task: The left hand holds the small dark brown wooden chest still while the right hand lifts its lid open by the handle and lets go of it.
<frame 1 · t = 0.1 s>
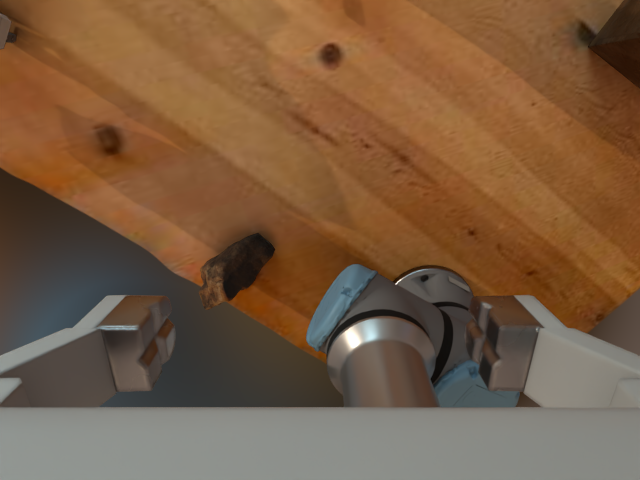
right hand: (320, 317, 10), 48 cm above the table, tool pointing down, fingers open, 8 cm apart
decorative rock: (240, 256, 62), on the table
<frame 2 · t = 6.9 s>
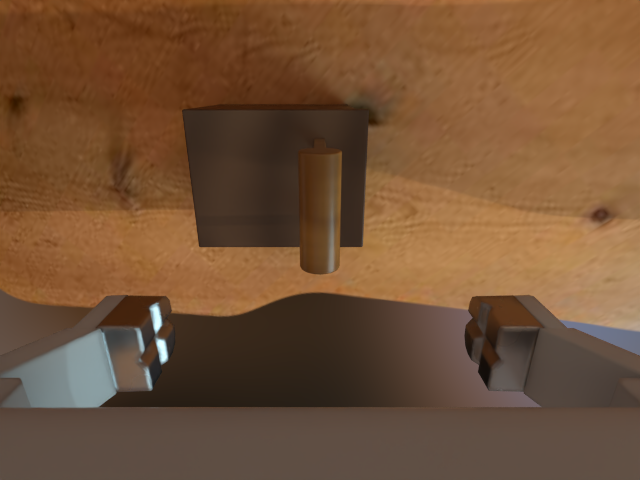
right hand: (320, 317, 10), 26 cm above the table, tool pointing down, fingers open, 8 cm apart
chest: (285, 158, 35), on the table
lid: (272, 195, 23), point 13 cm above the table, hinge at 0.0°
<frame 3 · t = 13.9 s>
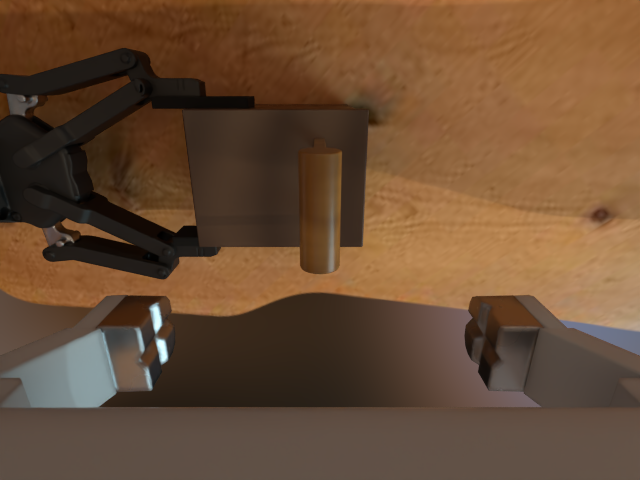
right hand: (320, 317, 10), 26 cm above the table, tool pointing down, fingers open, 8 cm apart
left hand: (255, 173, 29), fingers closed on chest, 9 cm apart
chest: (285, 158, 35), on the table, touching left hand
lid: (272, 195, 23), point 13 cm above the table, hinge at 0.0°
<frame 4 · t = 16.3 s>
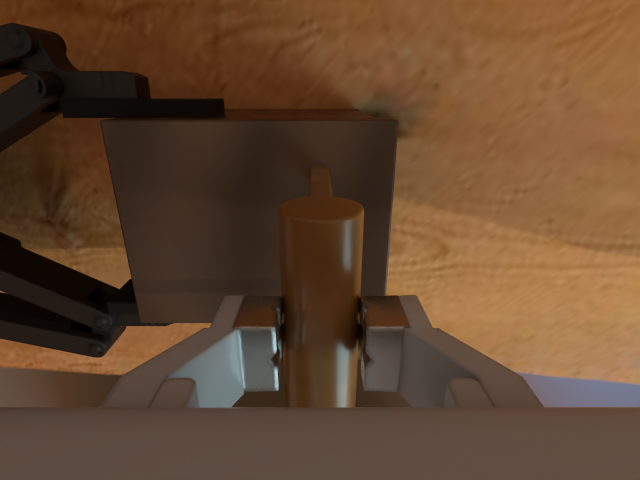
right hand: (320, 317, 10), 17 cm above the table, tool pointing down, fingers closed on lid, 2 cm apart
left hand: (226, 210, 20), fingers closed on chest, 9 cm apart
chest: (273, 182, 26), on the table, touching left hand
lid: (242, 264, 14), point 13 cm above the table, hinge at -0.1°, touching right hand
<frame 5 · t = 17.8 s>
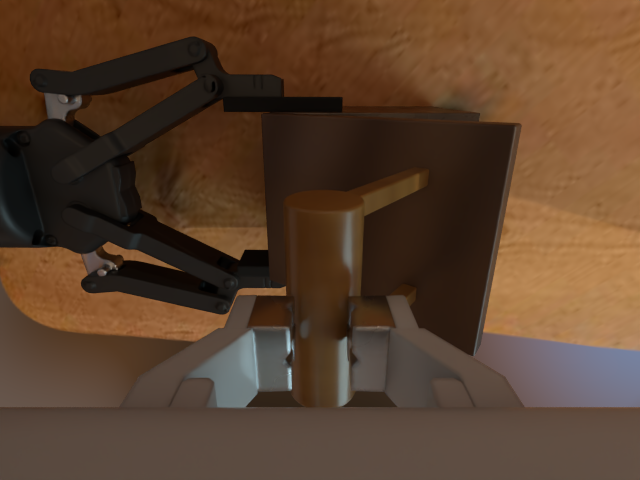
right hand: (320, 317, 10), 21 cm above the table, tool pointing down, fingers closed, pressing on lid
left hand: (339, 189, 24), fingers closed on chest, 9 cm apart
chest: (357, 169, 30), on the table, touching left hand
lid: (314, 246, 15), point 16 cm above the table, hinge at 35.8°, touching right hand
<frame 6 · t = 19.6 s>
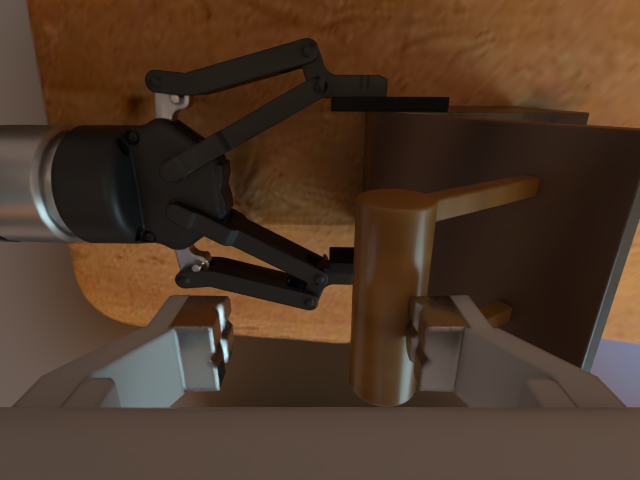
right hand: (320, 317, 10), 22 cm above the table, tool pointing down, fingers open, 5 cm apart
left hand: (432, 188, 24), fingers closed on chest, 9 cm apart
chest: (433, 168, 30), on the table, touching left hand
lid: (401, 246, 15), point 16 cm above the table, hinge at 55.0°, touching right hand
when the left hand's fingers open (7 cm above the table, at t = 23.1 s): chest stays where it is, on the table.
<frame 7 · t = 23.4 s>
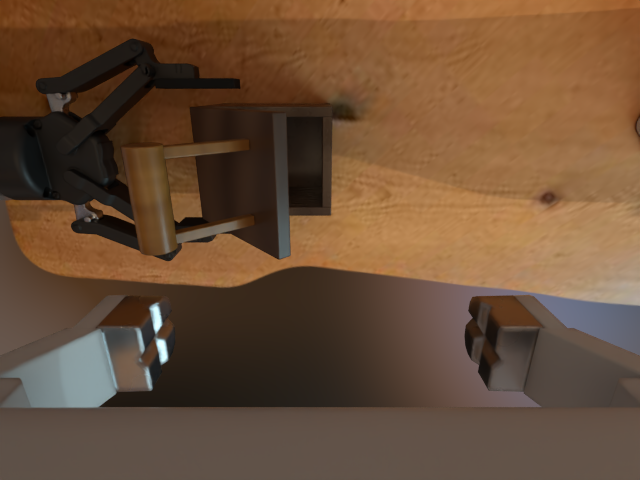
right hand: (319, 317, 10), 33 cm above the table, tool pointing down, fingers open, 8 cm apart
left hand: (242, 159, 35), fingers open, 12 cm apart
chest: (278, 149, 41), on the table
lid: (186, 183, 26), point 16 cm above the table, hinge at 49.2°
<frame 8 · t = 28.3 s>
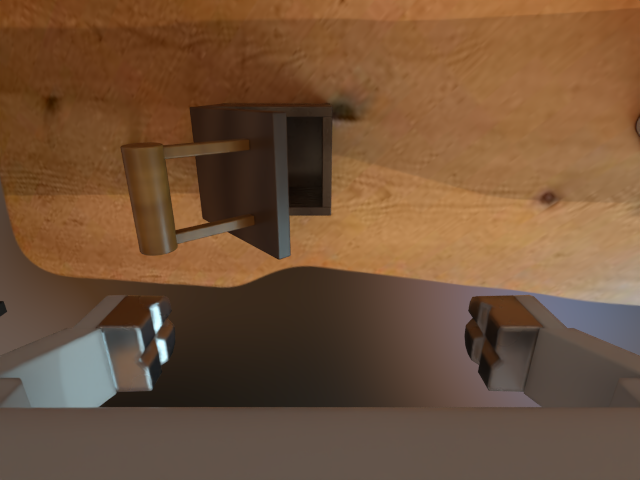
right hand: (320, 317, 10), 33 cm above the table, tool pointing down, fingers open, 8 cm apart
chest: (278, 149, 41), on the table
lid: (186, 183, 26), point 16 cm above the table, hinge at 49.2°
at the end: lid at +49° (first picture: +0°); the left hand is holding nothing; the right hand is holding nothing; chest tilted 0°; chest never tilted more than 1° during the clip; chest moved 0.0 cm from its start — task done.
